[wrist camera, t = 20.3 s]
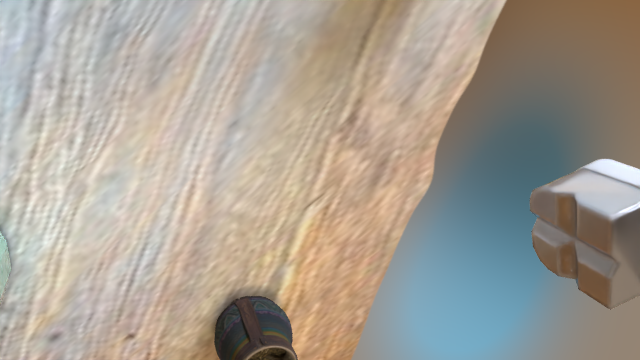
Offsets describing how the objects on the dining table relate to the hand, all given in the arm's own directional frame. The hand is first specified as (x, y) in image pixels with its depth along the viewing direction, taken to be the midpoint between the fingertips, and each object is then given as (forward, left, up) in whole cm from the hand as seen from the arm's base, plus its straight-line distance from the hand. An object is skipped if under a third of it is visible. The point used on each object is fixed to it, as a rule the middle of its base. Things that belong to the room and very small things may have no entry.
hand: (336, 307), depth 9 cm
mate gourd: (+26, -1, -35) cm, 44 cm away
